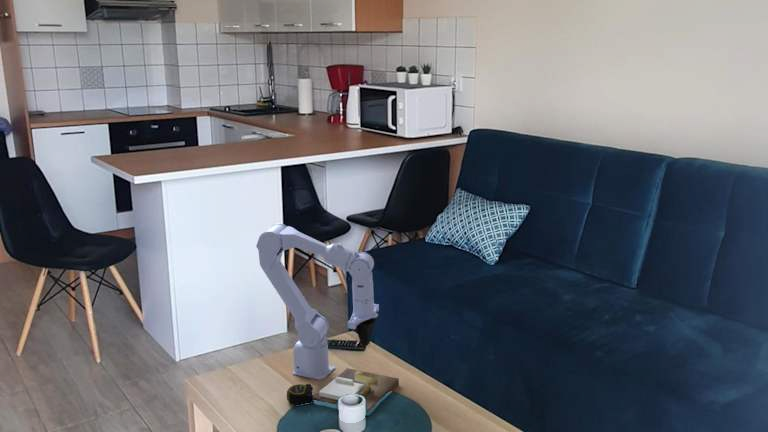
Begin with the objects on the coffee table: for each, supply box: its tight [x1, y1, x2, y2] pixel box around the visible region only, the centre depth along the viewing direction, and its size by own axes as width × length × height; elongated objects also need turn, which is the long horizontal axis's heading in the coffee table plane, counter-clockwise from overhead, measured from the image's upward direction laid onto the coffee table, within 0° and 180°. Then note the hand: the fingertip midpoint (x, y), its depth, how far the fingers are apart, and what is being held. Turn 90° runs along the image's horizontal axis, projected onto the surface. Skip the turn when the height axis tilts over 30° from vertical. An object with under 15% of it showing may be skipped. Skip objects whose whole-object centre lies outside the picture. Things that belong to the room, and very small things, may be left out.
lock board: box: [313, 367, 400, 412], centre depth 186 cm, size 16×18×2 cm
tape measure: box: [286, 383, 314, 407], centre depth 183 cm, size 7×7×4 cm
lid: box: [318, 376, 365, 400], centre depth 182 cm, size 9×8×2 cm
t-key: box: [354, 369, 382, 396], centre depth 181 cm, size 5×7×5 cm, turn 60°
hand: (365, 343), depth 195 cm, fingers closed
